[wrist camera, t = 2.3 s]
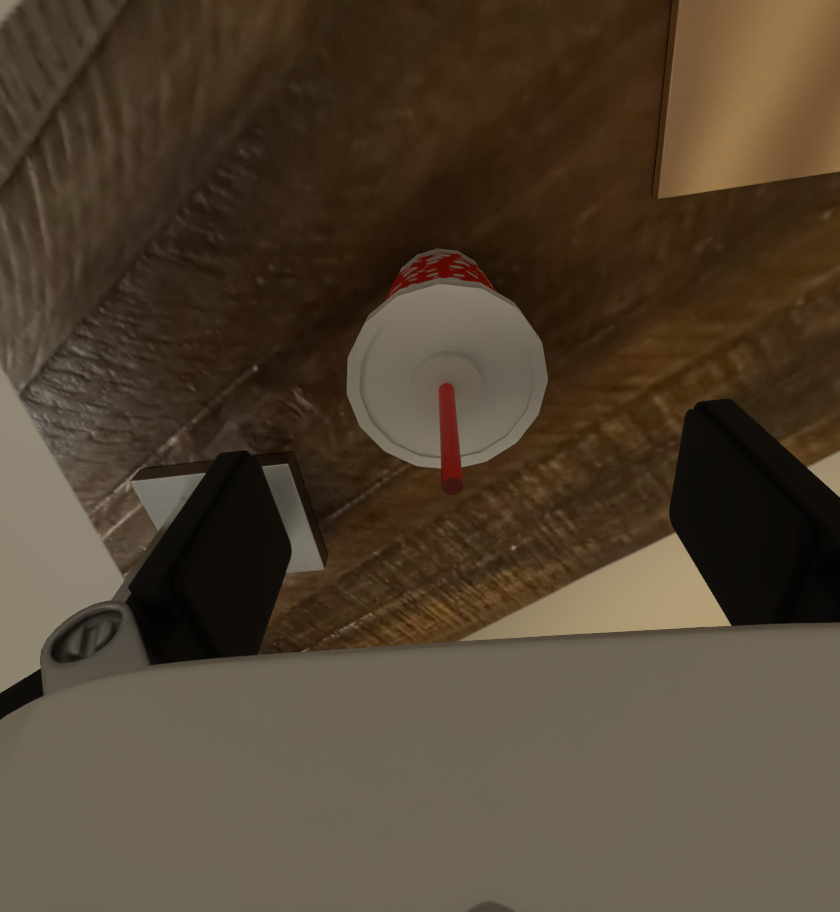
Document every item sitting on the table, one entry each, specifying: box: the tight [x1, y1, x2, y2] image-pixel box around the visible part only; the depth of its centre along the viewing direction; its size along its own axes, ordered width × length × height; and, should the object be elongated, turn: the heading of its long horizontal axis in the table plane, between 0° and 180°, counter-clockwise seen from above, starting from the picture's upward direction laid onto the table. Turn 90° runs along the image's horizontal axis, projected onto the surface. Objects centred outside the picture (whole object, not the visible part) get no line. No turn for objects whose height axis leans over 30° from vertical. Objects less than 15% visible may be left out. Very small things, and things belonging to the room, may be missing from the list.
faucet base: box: [111, 452, 328, 603], centre depth 25 cm, size 9×8×12 cm
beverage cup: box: [347, 248, 548, 495], centre depth 17 cm, size 6×6×14 cm
